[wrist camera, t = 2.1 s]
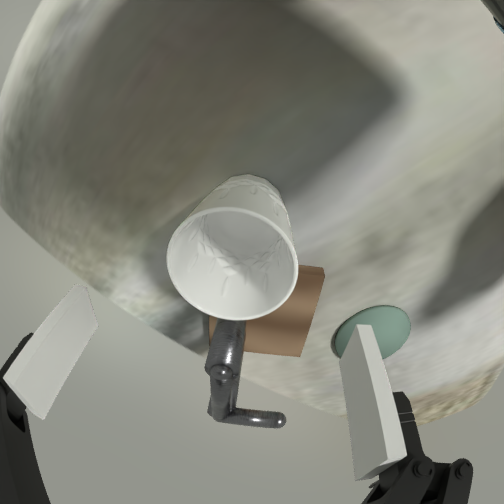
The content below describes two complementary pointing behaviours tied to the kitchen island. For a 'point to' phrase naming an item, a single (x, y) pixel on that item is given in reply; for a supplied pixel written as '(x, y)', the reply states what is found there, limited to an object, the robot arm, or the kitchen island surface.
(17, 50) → the kitchen island surface
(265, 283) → the white cup
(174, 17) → the kitchen island surface
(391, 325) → the end coaster
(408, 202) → the kitchen island surface
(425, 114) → the kitchen island surface
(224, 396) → the bent wire
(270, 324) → the brown wooden board
